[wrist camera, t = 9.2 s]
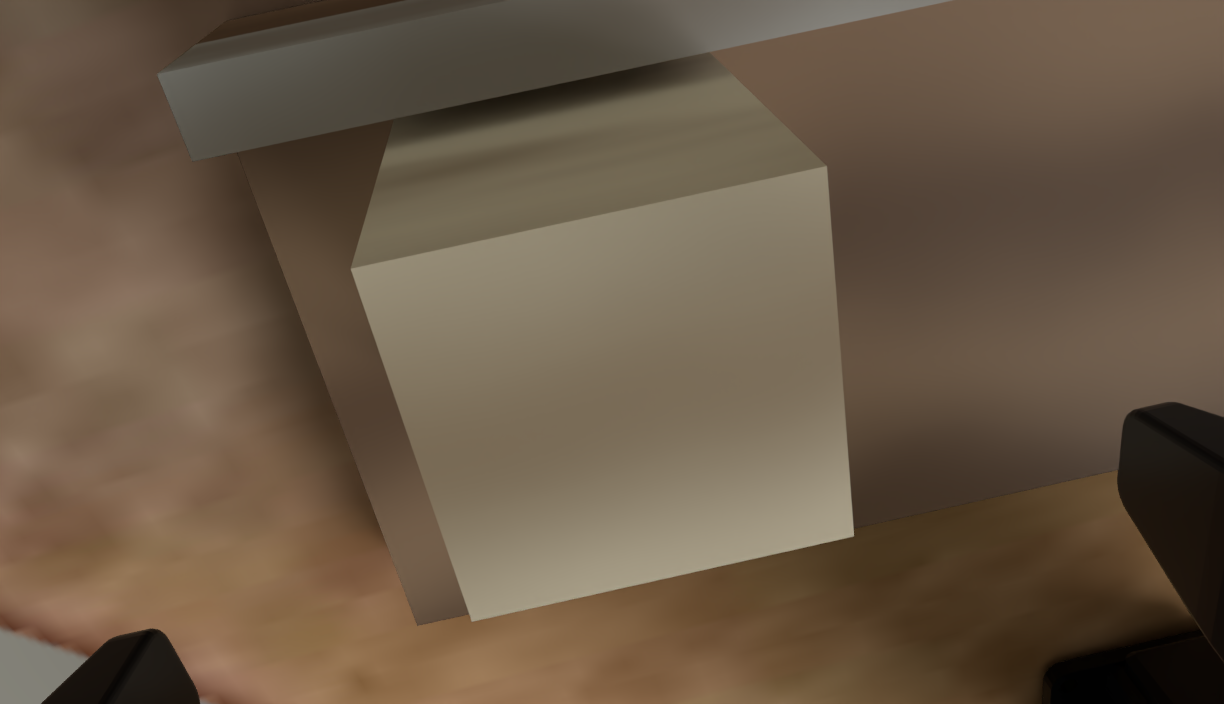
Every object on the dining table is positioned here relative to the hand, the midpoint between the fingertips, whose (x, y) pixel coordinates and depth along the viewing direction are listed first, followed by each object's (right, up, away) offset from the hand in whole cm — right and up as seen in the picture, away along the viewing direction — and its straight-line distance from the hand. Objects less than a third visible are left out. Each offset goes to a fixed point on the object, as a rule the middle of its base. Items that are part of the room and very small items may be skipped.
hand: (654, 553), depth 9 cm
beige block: (-1, +3, +8) cm, 9 cm away
